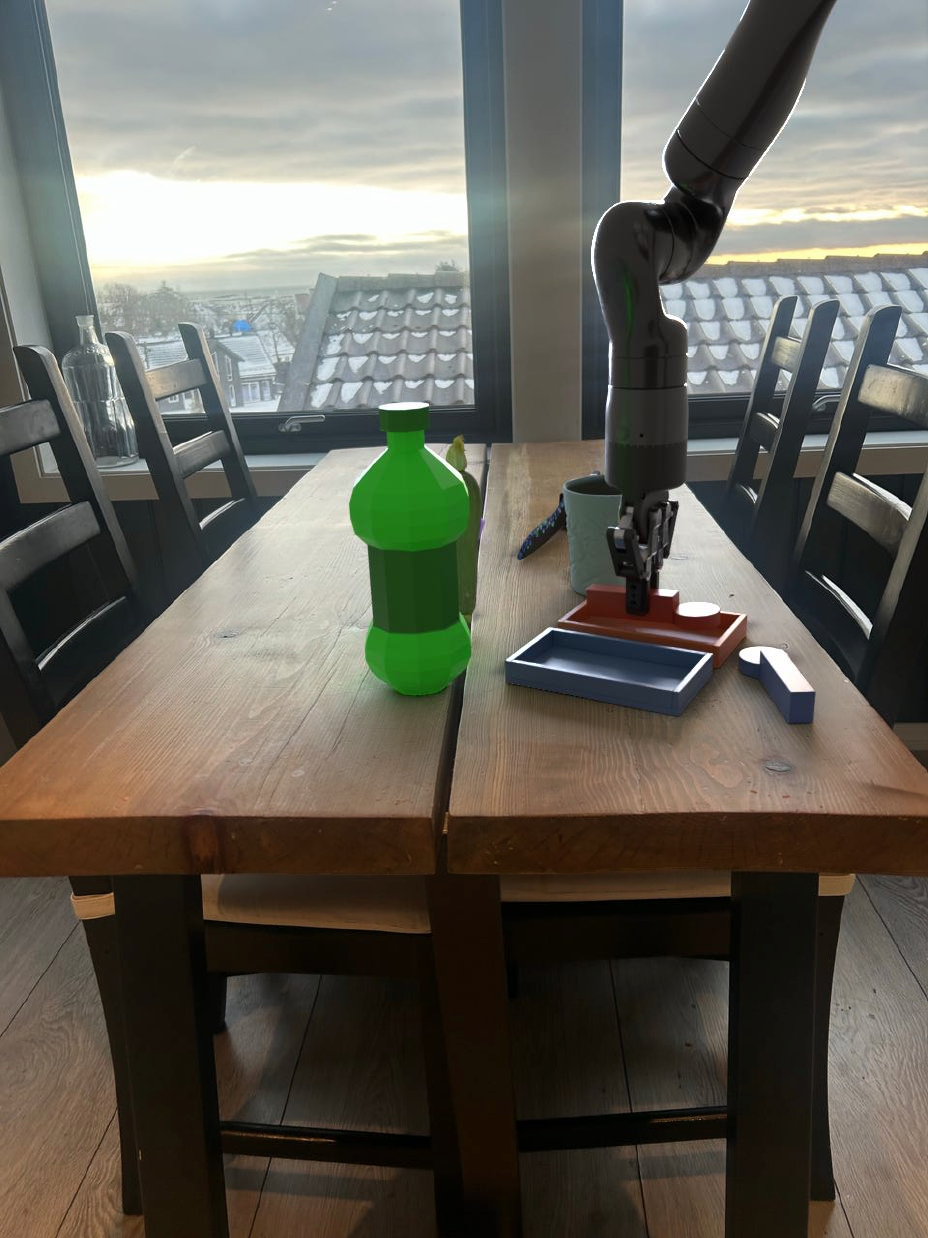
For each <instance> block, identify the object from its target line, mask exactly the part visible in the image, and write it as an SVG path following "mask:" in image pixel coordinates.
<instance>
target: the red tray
mask: <svg viewBox="0 0 928 1238" xmlns="http://www.w3.org/2000/svg"><path fill="white" fill-rule="evenodd" d="M747 628H748V614H747V613H739V612H731V611H725V610H720V624H719V625H718V626H717V627H715V628H712V629H707V630H685V629H681V628H678V627H676V626H675V625H674V623H673V624H669V623H658V622H648V621H638V620H627V619H617V618H607V617H596V616H588V615H587V600H586V599H585V600H583V602H581V603H580V604H579V605H577V606H575V607H574V608H573V609H572V610H571V611H569V612H568V613H566V614H565V615H564V616H562V617H560V619H558V620H557V629H563V630H569V631H575V632H581V633H588V634H594V635H600V636H606V637H612V638H619V639H625V640H631V641H637V642H644V643H650V644H656V645H662V646H668V647H675V648H681V649H687V650H693V651H699V652H706V653H712V654H713V669H720V668H721V666H722V665H723V664H724V662H725V661H726V660H727V659H728V657H730V655H731V654H732V653H733V651H735V649H736V648H737V647H738V646H739V645H740V643H741V642H742V641H743V639H744V638H745V637H746V636H747Z"/></svg>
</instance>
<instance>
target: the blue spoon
mask: <svg viewBox="0 0 928 1238" xmlns="http://www.w3.org/2000/svg"><path fill="white" fill-rule="evenodd" d="M737 660H738V661H737V662H738V663H737V669H738V671H739V672H740V673H741V674H743V675H745V676H747V677H750V678H754V679H758V680H759V682H760V683H761V685H762V687H763V689H764V690H765V692H767V694H768V695H769V697H770V699H771V700H772V701H773V703H774V705H775V706H776V708H777V709H778V711H779V712H780V714H781V715H782V716H783V718H784V719H785V721H786V722H787V724H790V725H792V724H793V725H794V724H813V723H814V716H815V703H816V695H817V694H816V689H814V687H813V686H812V685H811V683H809V681H808V680H807V679H806V677H805V676H804V675H803V674H802V672H801V671H800V670H799V668H798V666H796V665H795V663H794V662H793V661H792V659H791V658H790V654H788V653H787V652H786V651H785V650H784V649H782V648H781V649H780V648H776V647H771V646H750V647H745V648H744V649H741V650H740V651H739V653H738V659H737Z"/></svg>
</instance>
